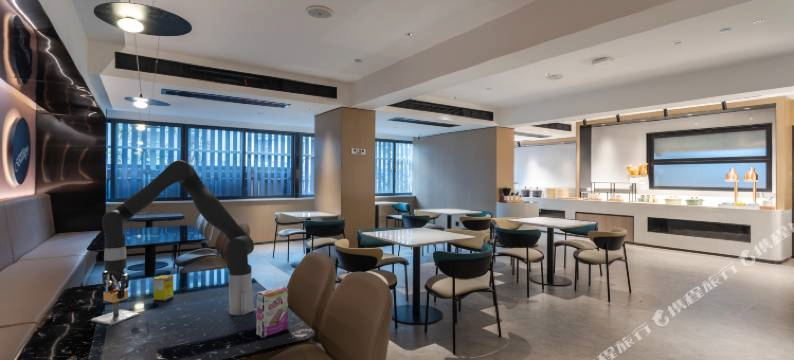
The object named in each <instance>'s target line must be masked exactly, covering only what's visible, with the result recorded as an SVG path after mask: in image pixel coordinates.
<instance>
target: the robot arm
mask: <svg viewBox="0 0 794 360" xmlns="http://www.w3.org/2000/svg"><path fill="white" fill-rule="evenodd" d="M197 173H198V172H196V170H195V168H194V167H193V165H191V164H190V163H189V162H187V161H184V160H180V159H179V160H175V161H173V162H172V163H170V164H169V165H168V166H166V167H165V168H164V170H162V172H161V173H160V174H158V175H157V176H156V177H155V178H154V179H153V180H151V182H149V183H148V184H146V185H145V186H144V187H143V188H141V189H140V190H138V191H137V192H136V193H134V194H132V195H131V196H130V197H128V198H127V199H125V200H124V201H123V203H122V204H120V205H119V206H118V207H115V208H114V209H113V210H109V211H107V212H106V213H105V214H104V215H103V217H102V220H101V222H102V223H101V224H102V231H103V235H104V251H103V254H104V255H103V259H104V260H103V262H104V263H103V264H104V265H103V269H104V271H103V272H101V276H102V277H101V278H102V286H103V287H105V288H106V289H107V290H106V291H110V290H114V289H115V287H114V286H116V289H117V288H118V299H122V298H124V296H125V294H124V293H125V289H126V290H127V289H128V288H129V285H130V273H126V274H125V272H124V270H125V269H126V268H127V248H126V247H127V246H126V234H125V233H124V228H123V225H124V224H126V223H127V222H128V221H129V220H131V219H132V218H133V217H134V216H135V215H137V214H138V213H140V212H141V211H143V210H145V209H146V208H147V207H148V206H150V205H152V203H153V202H154V201H155V200H156V199H157V198H158V197H159V196H160V195H161V194H162V193H163V192H164V191H165V190H166V189H167V188H169V187H171V186H172V185H174V184H176V183H178V184H180V186H181V187H183V189H185V191H186V192H187V193H188V194H189V196H190V197H191V199H192V201H193V203H194V205H195V206H194V207H196V209H197V211H198V212H199V213H200V215H201V216H202V217H203V219H204V220H205V221H206V222H207V223H208V224H210V225H211V226H213V227H214V228H216V229H217V230H219V231H220V232H221V233H223V234H224V235H225V236H226V237H227V239H228V240H229V241H228V242H227V245H226V249H225V252H226V253H225V254H226V268H227V270H228V313H229V315H231V316H245V315H247V314H249V313H252V312H253V311H255V309H254V289H252V286H253V285H252V270H253V269H252V266H251V264H249V257H248V255H251V254H252V253H253V251H254V249H255V244H254V240H253V239H252V237H251V236H250V235H249V234H248V233H247V232H245V230H244V229H242V227H241V226H240V225H239V224H238V223H237V222H236V221H235V219H234V218H233V216H232V215H231V213H229V212H228V210H227V209H226V208H225V206H224V204H222V202H221V201H220V200H219V199H218V197H217V196H216V195H215V194H214V193H213V192H212V191H211V190H210V189H209V188H208V187H207V186H206V185H205V183H204V182H203V181H202V179H201V178H200V176H199V174H197Z"/></svg>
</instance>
